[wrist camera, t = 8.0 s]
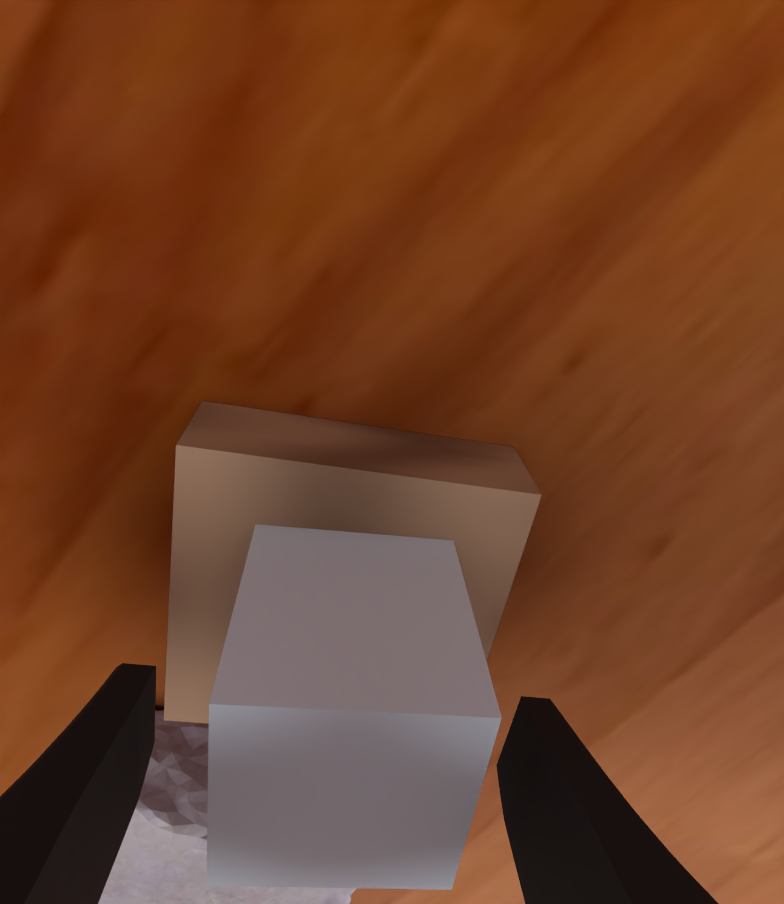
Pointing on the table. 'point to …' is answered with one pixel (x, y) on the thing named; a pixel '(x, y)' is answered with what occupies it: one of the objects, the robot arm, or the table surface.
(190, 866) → the stone block
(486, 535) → the tan square block
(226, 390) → the table surface
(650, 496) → the table surface
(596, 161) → the table surface
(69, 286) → the table surface
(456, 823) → the light grey block
